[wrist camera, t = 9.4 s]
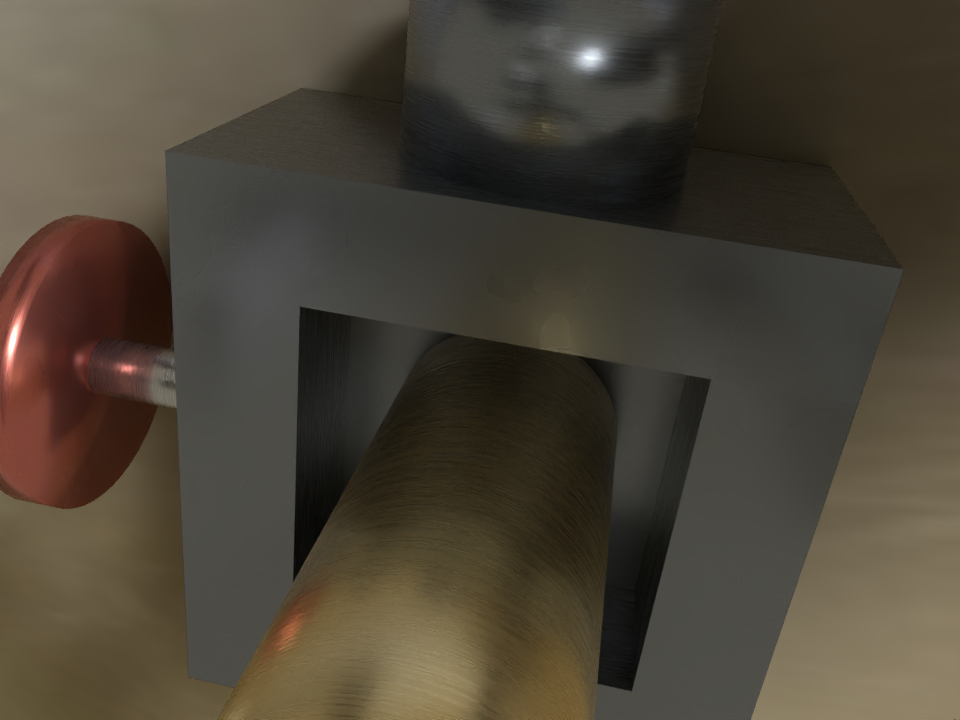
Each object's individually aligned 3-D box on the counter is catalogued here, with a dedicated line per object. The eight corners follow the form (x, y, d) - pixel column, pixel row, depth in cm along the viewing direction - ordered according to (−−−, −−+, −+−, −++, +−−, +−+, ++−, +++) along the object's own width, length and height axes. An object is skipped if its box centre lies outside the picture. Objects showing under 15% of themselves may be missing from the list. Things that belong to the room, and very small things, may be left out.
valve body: (129, -91, 18) (-114, -98, 13) (878, 7, 17) (993, 51, 11) (165, 571, 26) (24, 757, 20) (683, 682, 24) (691, 918, 19)
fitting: (403, 305, 18) (-369, 1462, 4) (639, 347, 17) (575, 1789, 4) (388, 500, 20) (-169, 1688, 6) (598, 542, 19) (464, 1923, 6)
